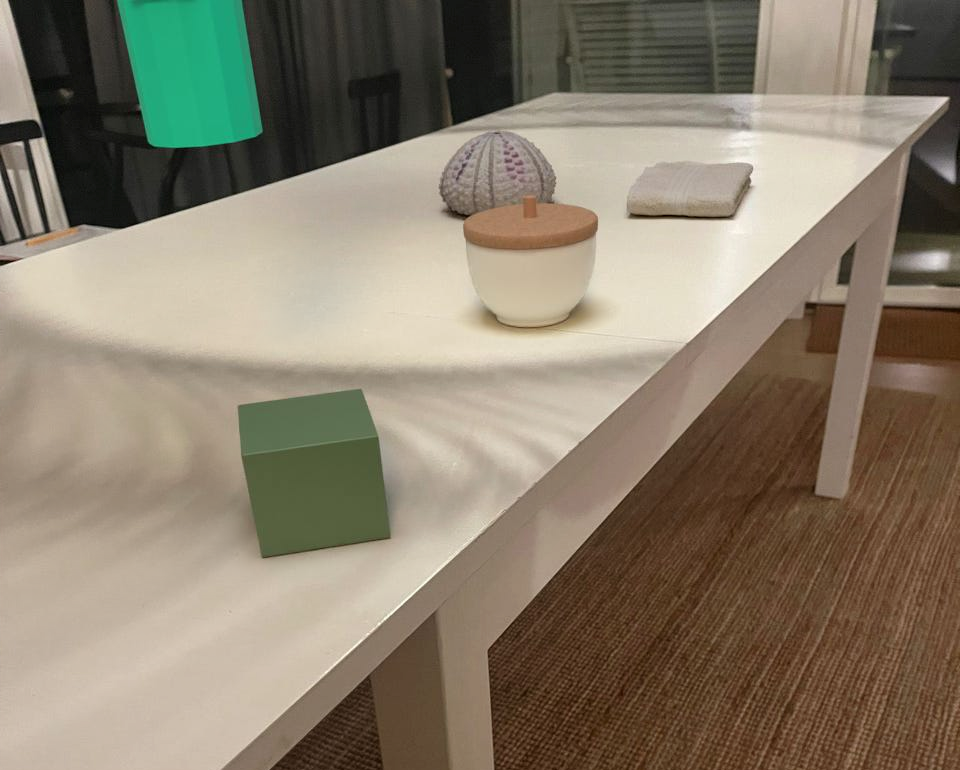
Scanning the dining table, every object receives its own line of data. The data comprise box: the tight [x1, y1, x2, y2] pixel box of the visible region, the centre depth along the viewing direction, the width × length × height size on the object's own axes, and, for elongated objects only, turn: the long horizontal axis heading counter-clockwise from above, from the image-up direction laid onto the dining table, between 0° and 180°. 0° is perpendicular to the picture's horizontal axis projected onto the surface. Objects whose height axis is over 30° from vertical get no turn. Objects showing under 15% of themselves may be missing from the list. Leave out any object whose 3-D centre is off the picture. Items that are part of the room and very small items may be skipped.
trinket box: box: [462, 195, 599, 328], centre depth 84 cm, size 11×11×9 cm
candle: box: [116, 0, 264, 149], centre depth 52 cm, size 6×6×12 cm
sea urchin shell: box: [438, 130, 557, 217], centre depth 117 cm, size 13×14×8 cm
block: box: [237, 388, 391, 558], centre depth 57 cm, size 7×7×6 cm
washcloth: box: [626, 160, 754, 218], centre depth 117 cm, size 12×18×3 cm, turn 162°
